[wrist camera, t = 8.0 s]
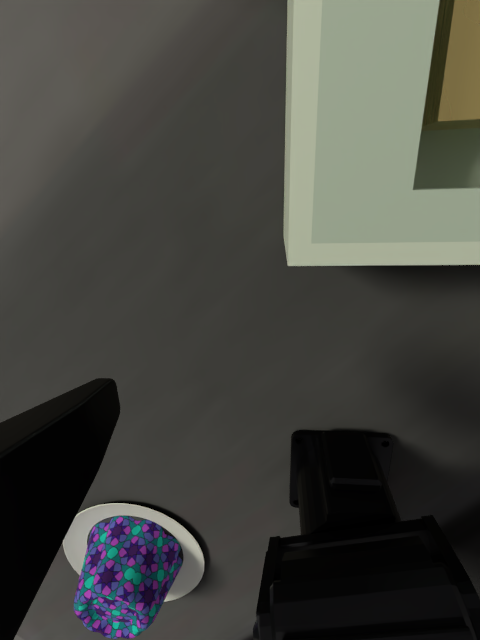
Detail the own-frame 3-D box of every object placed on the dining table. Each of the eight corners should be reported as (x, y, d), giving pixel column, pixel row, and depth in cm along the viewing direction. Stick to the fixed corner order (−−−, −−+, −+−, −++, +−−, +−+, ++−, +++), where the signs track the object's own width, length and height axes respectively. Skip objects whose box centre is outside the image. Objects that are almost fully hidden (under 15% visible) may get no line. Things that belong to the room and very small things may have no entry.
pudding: (231, 536, 29) (223, 609, 24) (170, 610, 33) (152, 684, 29) (95, 472, 28) (57, 534, 23) (50, 558, 32) (10, 626, 27)
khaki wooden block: (479, 127, 16) (530, 116, 13) (405, 131, 17) (437, 121, 13) (502, 2, 15) (566, -47, 11) (419, 10, 15) (459, -37, 12)
